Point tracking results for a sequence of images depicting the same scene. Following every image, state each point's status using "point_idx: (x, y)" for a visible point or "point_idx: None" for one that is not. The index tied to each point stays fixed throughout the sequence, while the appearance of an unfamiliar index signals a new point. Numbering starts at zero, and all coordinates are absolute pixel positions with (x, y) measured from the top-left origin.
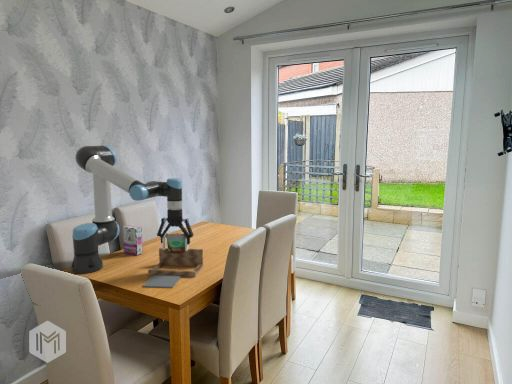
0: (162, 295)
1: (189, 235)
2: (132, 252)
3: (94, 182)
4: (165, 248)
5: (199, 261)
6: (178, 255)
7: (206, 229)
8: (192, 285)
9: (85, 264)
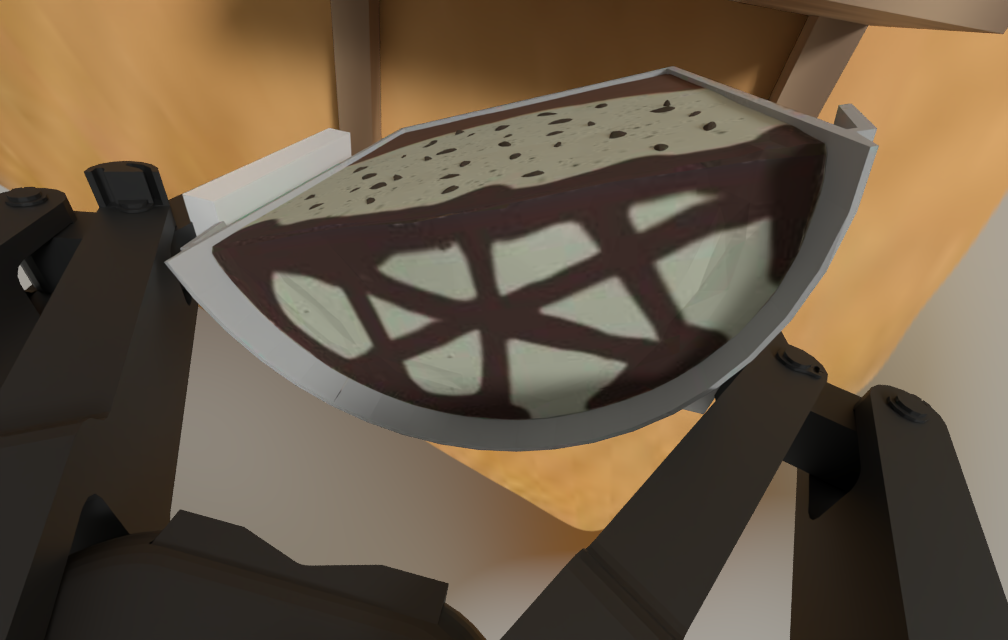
0: (513, 472)
1: (794, 464)
2: None
3: None
4: (349, 148)
5: (840, 18)
6: None
7: None
8: (661, 422)
9: None
